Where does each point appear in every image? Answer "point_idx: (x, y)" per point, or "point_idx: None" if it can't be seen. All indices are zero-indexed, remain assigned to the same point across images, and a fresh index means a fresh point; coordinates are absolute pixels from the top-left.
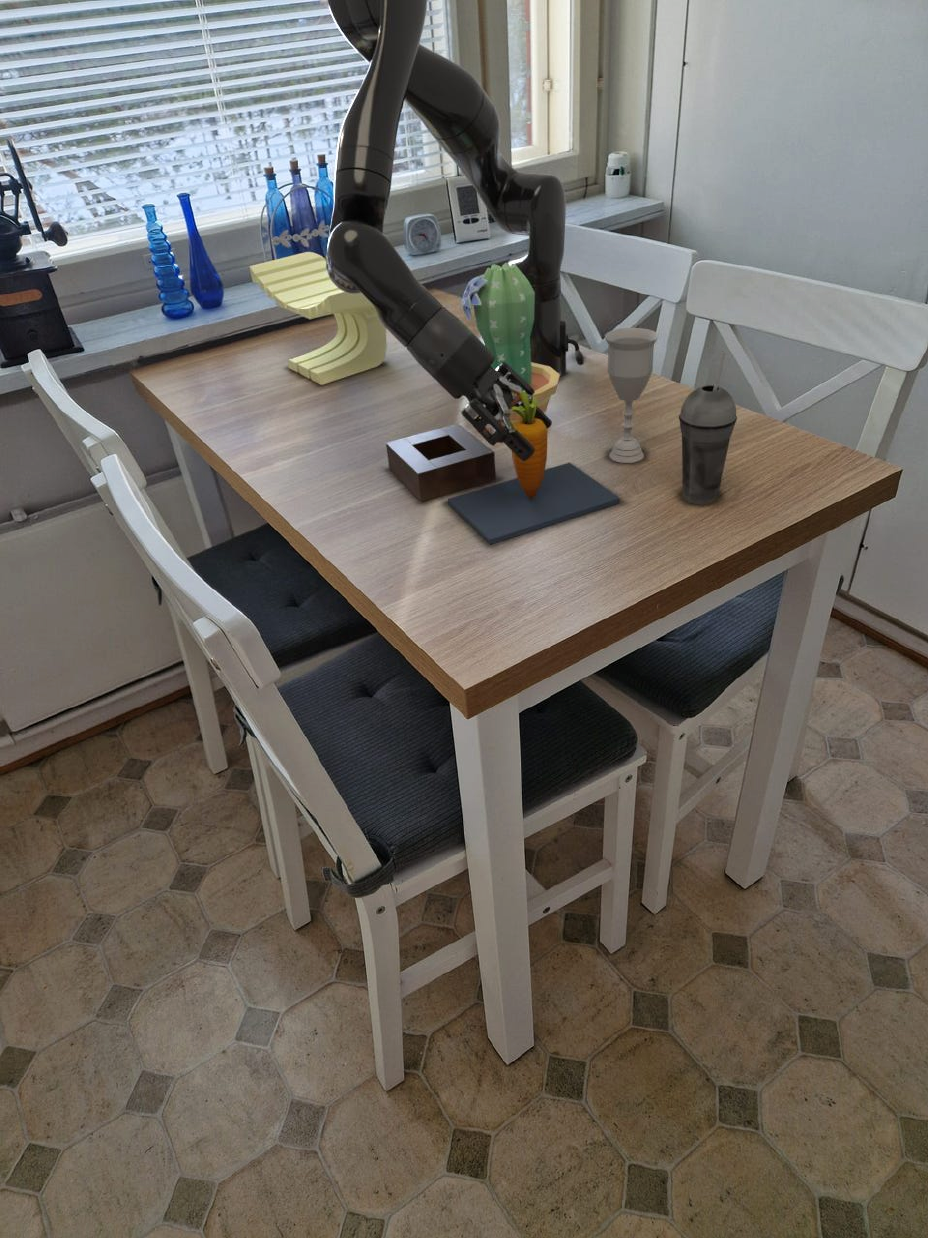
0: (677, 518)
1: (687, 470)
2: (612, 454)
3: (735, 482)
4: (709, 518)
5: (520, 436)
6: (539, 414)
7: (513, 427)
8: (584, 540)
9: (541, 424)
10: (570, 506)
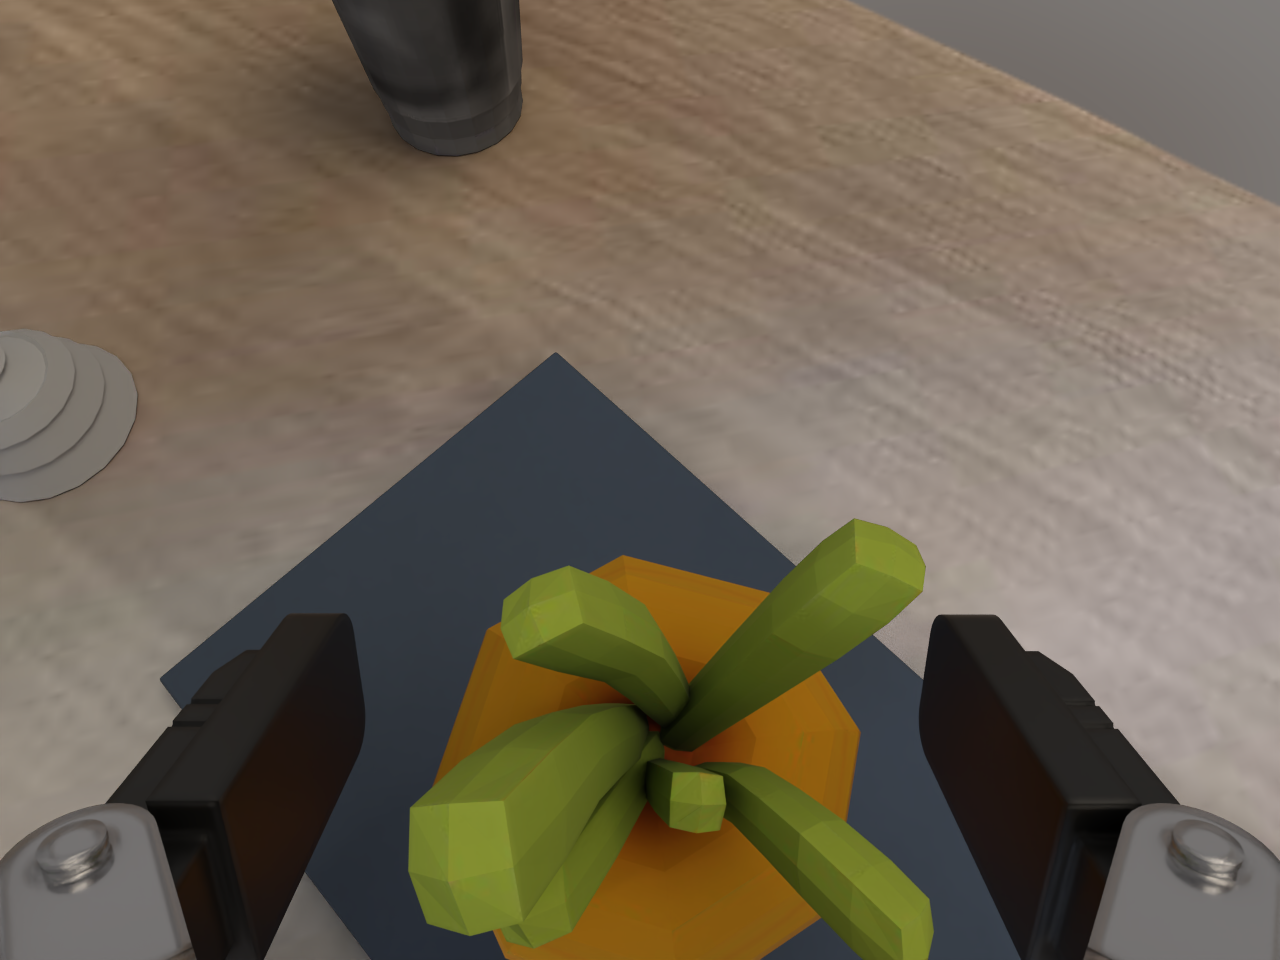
0: (643, 154)
1: (487, 13)
2: (56, 473)
3: (326, 21)
4: (620, 66)
5: (1072, 734)
6: (292, 717)
7: (1131, 833)
8: (927, 443)
9: (655, 586)
10: (690, 551)
